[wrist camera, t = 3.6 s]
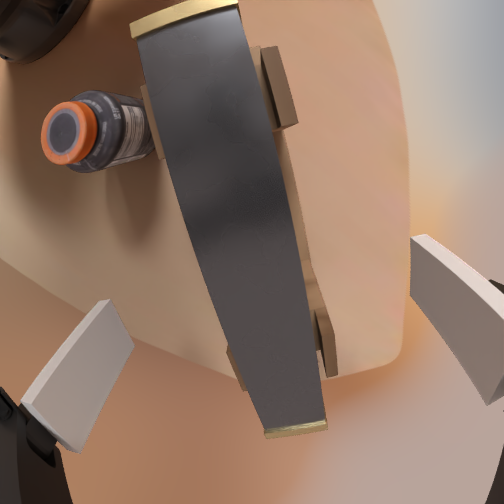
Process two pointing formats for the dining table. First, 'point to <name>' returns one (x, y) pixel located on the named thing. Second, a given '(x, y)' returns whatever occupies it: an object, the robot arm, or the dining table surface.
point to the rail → (234, 203)
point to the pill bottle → (96, 131)
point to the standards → (280, 119)
